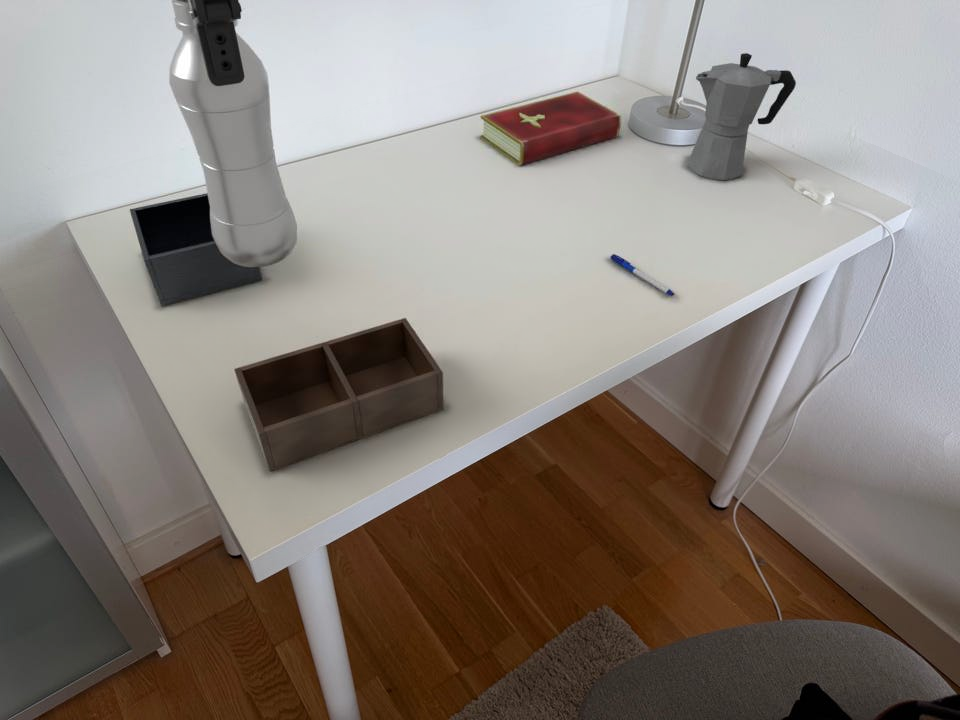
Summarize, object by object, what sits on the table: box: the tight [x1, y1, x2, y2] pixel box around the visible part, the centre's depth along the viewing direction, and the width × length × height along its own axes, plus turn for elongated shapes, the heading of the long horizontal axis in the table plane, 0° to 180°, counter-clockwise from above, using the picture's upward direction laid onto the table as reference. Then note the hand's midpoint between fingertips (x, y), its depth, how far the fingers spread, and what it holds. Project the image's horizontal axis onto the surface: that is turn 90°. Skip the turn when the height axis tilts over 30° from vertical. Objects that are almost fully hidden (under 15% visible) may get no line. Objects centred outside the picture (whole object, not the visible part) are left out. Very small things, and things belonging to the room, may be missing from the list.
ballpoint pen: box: [610, 253, 675, 297], centre depth 89 cm, size 10×1×1 cm, turn 41°
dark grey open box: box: [129, 192, 263, 307], centre depth 86 cm, size 12×12×7 cm
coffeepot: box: [686, 52, 797, 181], centre depth 106 cm, size 15×9×18 cm, turn 93°
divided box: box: [233, 317, 444, 472], centre depth 69 cm, size 18×9×5 cm, turn 118°
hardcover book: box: [479, 91, 622, 167], centre depth 117 cm, size 12×21×4 cm, turn 123°
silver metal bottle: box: [168, 0, 298, 268], centre depth 51 cm, size 6×7×20 cm
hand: (217, 65), depth 47 cm, fingers closed on silver metal bottle, 6 cm apart
